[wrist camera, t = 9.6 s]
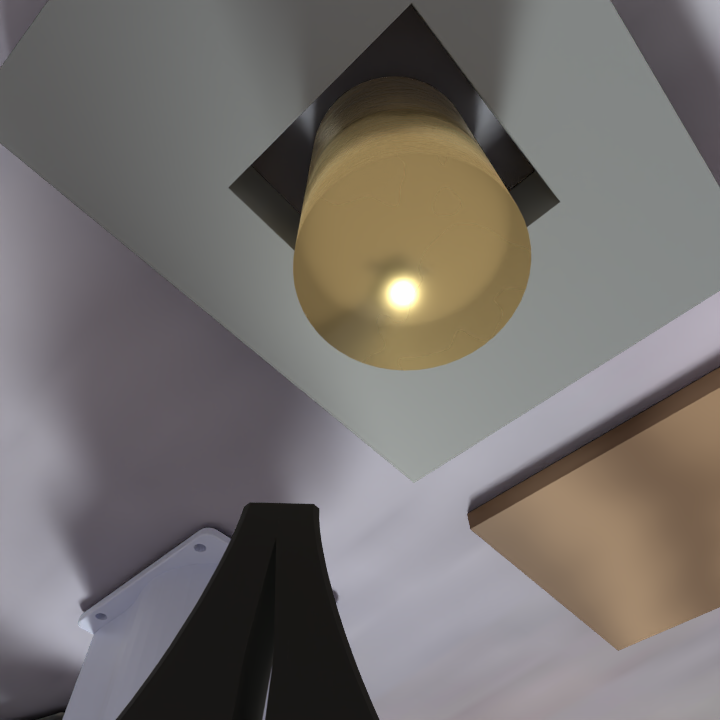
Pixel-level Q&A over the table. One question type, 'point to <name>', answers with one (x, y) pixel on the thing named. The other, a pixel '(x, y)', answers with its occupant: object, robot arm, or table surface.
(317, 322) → the brass peg
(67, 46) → the grey square socket plate
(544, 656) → the table surface
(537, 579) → the stand pad
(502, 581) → the table surface
